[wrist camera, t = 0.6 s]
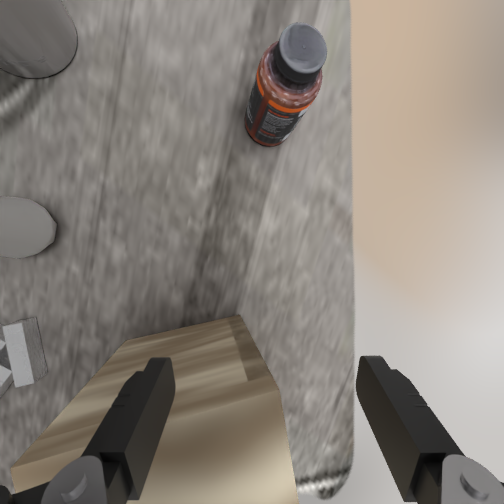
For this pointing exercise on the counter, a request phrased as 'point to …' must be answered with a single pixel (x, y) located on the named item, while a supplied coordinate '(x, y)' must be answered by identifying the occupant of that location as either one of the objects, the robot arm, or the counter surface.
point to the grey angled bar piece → (20, 354)
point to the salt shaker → (24, 227)
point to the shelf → (187, 421)
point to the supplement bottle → (285, 83)
